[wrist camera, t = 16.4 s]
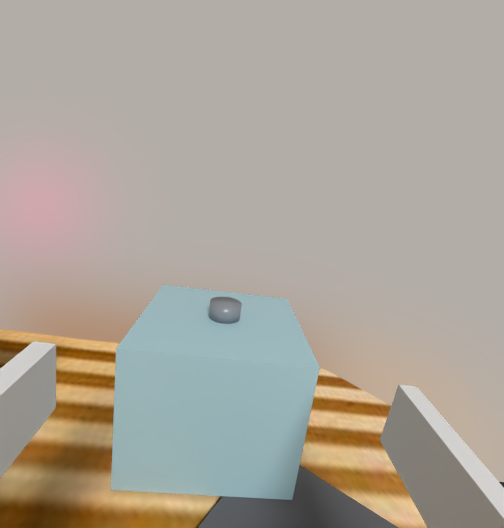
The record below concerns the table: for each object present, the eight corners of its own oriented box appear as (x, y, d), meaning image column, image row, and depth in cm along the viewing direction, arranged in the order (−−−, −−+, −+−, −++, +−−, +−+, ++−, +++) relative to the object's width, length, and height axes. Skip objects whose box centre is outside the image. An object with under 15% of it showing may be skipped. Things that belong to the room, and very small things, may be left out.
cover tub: (110, 490, 20) (117, 328, 17) (156, 379, 31) (164, 272, 29) (292, 500, 21) (323, 349, 18) (271, 388, 32) (289, 286, 30)
